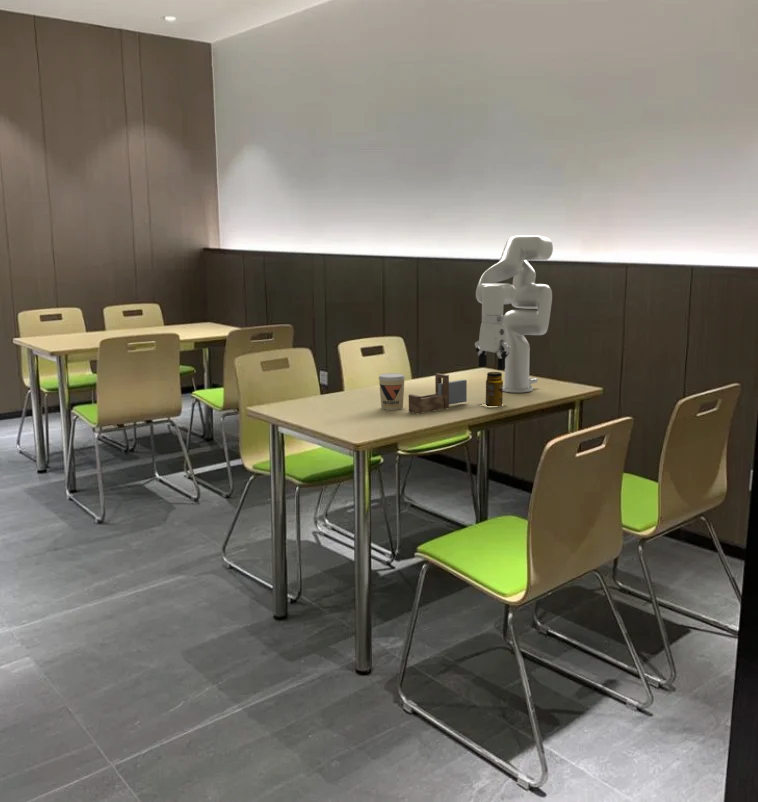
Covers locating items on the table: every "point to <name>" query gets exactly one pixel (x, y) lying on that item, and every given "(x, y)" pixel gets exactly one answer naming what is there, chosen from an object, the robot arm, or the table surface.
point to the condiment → (494, 389)
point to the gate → (455, 391)
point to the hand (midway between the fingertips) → (491, 368)
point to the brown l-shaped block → (431, 397)
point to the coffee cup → (391, 390)
